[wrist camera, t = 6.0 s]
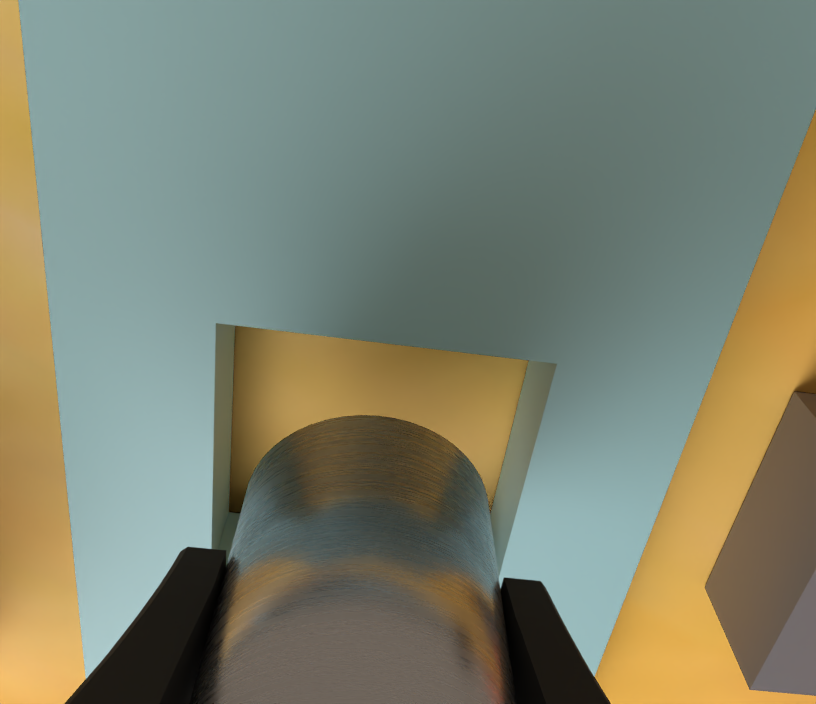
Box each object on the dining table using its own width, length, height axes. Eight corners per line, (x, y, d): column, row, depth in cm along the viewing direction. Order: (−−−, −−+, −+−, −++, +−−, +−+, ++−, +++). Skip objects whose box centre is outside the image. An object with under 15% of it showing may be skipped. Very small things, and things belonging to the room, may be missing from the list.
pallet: (538, 724, 23) (549, 791, 21) (118, 688, 22) (93, 756, 20) (805, -35, 13) (868, -25, 11) (60, -155, 12) (2, -165, 10)
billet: (452, 617, 15) (476, 980, 10) (230, 581, 15) (137, 944, 10) (519, 442, 13) (594, 787, 8) (263, 392, 13) (167, 727, 8)
